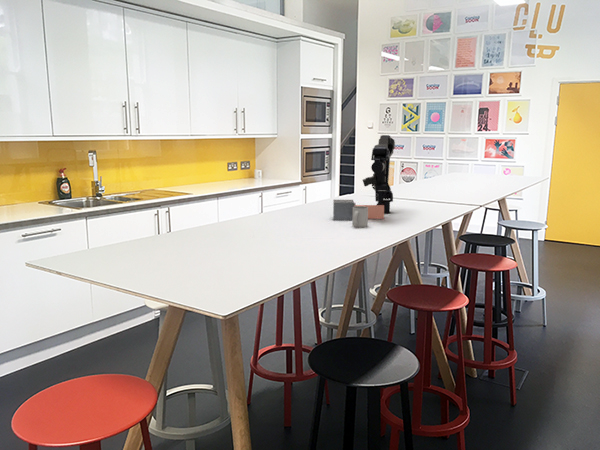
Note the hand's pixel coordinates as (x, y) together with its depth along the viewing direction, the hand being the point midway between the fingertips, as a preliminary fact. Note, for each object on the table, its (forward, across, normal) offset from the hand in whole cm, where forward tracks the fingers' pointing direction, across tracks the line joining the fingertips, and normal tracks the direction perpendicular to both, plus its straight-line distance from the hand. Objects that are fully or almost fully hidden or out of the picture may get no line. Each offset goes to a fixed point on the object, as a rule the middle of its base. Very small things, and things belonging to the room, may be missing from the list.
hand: (379, 202), depth 255 cm
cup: (+9, +20, -11) cm, 24 cm away
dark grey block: (+8, 0, -18) cm, 20 cm away
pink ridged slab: (+8, 0, -6) cm, 10 cm away
